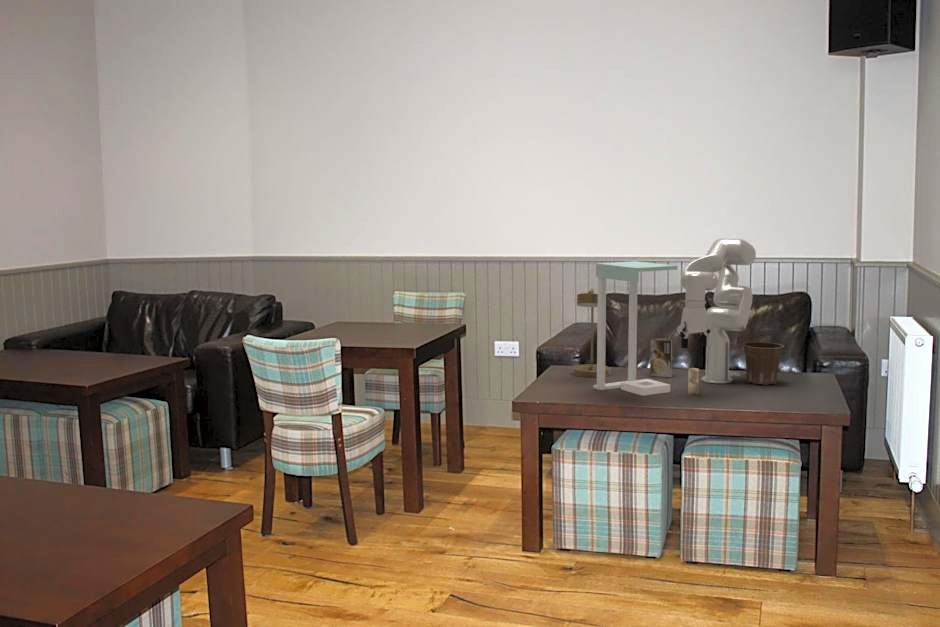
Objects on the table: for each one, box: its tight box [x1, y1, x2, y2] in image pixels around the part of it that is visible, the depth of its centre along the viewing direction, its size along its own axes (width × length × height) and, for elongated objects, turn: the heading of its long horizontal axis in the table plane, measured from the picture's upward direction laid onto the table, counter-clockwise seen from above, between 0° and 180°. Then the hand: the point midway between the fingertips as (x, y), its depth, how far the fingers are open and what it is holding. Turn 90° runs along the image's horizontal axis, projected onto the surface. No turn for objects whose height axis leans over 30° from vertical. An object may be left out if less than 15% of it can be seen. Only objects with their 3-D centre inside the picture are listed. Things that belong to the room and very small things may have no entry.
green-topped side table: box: [592, 260, 678, 391], centre depth 389 cm, size 20×27×52 cm
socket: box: [620, 378, 671, 397], centre depth 394 cm, size 14×14×3 cm
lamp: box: [571, 288, 611, 378], centre depth 423 cm, size 17×27×38 cm, turn 169°
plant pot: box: [742, 341, 784, 386], centre depth 407 cm, size 16×16×16 cm
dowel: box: [687, 367, 700, 395], centre depth 387 cm, size 4×4×10 cm
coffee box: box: [649, 337, 673, 378], centre depth 424 cm, size 9×6×16 cm
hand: (693, 347), depth 385 cm, fingers open, 9 cm apart
